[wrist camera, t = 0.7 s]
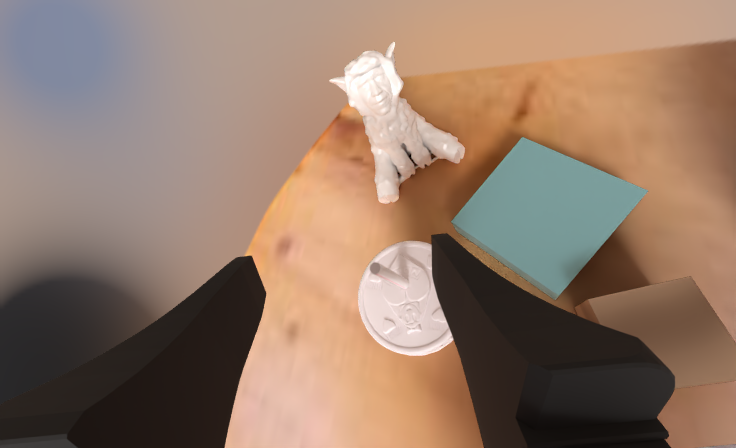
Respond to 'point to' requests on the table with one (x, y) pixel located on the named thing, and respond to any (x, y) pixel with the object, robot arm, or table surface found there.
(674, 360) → the walnut block
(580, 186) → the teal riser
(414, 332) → the smoothie
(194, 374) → the robot arm
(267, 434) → the table surface
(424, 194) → the table surface
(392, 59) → the seated beast figurine
